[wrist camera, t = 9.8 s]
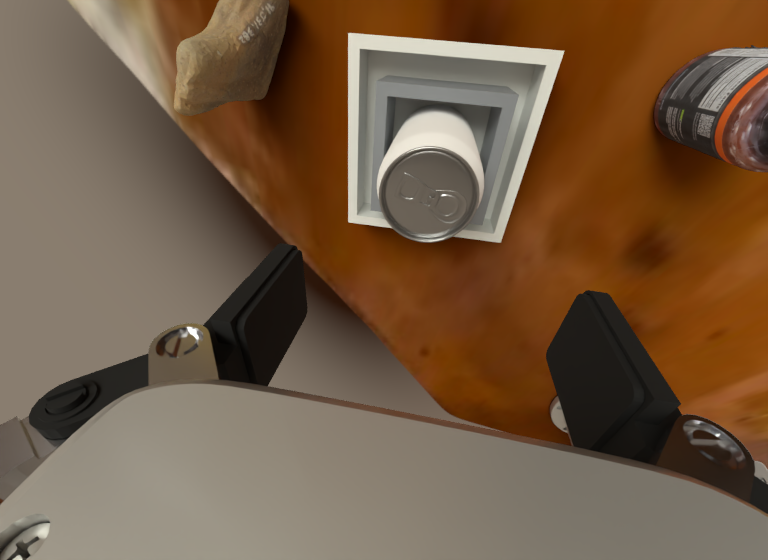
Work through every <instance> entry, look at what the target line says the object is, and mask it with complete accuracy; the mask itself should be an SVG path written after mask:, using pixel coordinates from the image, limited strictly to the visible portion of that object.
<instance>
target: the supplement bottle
mask: <svg viewBox="0 0 768 560" xmlns="http://www.w3.org/2000/svg"><path fill="white" fill-rule="evenodd" d="M654 121H655V124H656V127H657V129H658V130H659V132H660V133H661V134H663V135H664V136H665V137H667V138H669V139H671V140H673V141H676V142H678V143H680V144H683V145H686V146H688V147H691V148H693V149H696V150H698V151H700V152H703V153H705V154H708V155H711V156H713V157H715V158H718V159H720V160H723V161H725V162H728V163H730V164H733V165H736V166H738V167H740V168H743V169H746V170H750V171H755V172H768V48H766V47H764V48H757V47H754V46H753V45H751V47H750V48H748V47H745V48H737V47H735V48H727V49H719V50H715V51H711V52H708V53H706V54H703V55H701V56H699V57H697V58H695V59H693V60H691V61H690V62H688V63H687V64H686V65H684V66H683V67H682V68H681V69H679V70H678V71H677V72H676V73H675V74H674V75H673V76H672V77H671V78H670V79H669V81H668V82H667V83H666V84H665V86H664V87H663V89H662V91H661V92H660V94H659V96H658V99H657V102H656V105H655V109H654Z"/></svg>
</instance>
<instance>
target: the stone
mask: <svg viewBox="0 0 768 560" xmlns="http://www.w3.org/2000/svg"><path fill="white" fill-rule="evenodd" d="M288 7H289V0H219V2H218V4H217V6H216V9H215V11H214V14H213V16H212V18H211V20H210V22H209V24H208V26H207V28H205V30H204V31H202V32H201V33H200V34H197V35H196V36H193V37H191V38H188V39H185V40H183V41H182V42H181V43H180V45H179V46H178V48H177V53H176V63H177V70H178V73H177V77H176V84H177V85H176V91H175V100H174V109H175V110H176V111H178V112H179V113H180V114H183V115H188V116H189V115H195V114H199V113H203V112H207V111H209V110H212V109H214V108H215V107H218V106H219V105H222V104H225V103H227V102H231V101H250V100H254V99H255V100H261V99H263V98H264V97H265V96H266V94H267V91H268V88H269V84H270V82H271V79H272V76H273V72H274V69H275V65H276V62H277V58H278V54H279V50H280V47H281V44H282V41H283V37H284V34H285V29H286V20H287V13H288Z"/></svg>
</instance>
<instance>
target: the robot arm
mask: <svg viewBox="0 0 768 560" xmlns="http://www.w3.org/2000/svg"><path fill="white" fill-rule="evenodd" d="M306 314H307V300H306V289H305V278H304V269H303V257H302V252H301V251H300V250H298V249H297V247H296V246H294V245H288V244H278V245H277V246H276V247H275V248H274V249H273V250H272V252H270V254H269V255H268V256H267V257H266V258H265V259H264V260H263V261H262V262H261V263H260V265H259V266H258V267H257V268H256V269H255V270H254V271H253V272H252V273H251V275H250V276H249V277H247V278H246V279H245V280H244V281H243V282H242V284H241V285H240V286H239V287H238V288H237V289H236V290H235V291H234V292H233V293H232V294H231V296H230V297H229V298H228V299H227V300H226V301H225V302H224V303H223V304H222V305H221V307H220V308H219V309H218V310H217V311H216V312H215V313H214V314H213V315H212V316H211V317H210V319H209V320H208V321H207V322H206V323H205V324H204V325H199V324H195V323H187V324H181V325H177V326H174V327H171V328H169V329H167V330H165V331H164V332H162V333H160V334H159V335H158V336H157V337H156V338H154V340H153V341H152V343H151V344H150V347H149V352H148V354H146V355H143V356H140V357H137V358H134V359H132V360H129V361H126V362H123V363H120V364H117V365H114V366H111V367H108V368H105V369H102V370H99V371H96V372H94V373H91V374H88V375H85V376H82V377H79V378H76V379H74V380H70V381H68V382H66V383H63V384H61V385H59V386H57V387H56V388H54V389H52V390H51V391H49V392H48V393H47V394H46V395H44V396H43V397H42V398H41V399H39V400H38V402H37V403H36V404H35V405H34V407H33V408H32V410H31V412H30V414H29V416H28V417H26V418H24V419H22V420H20V419H19V418H18V417H17V416H16V417H14V418H13V419H11V420H9V421H7V422H5V423H3V424H1V425H0V560H768V484H766V483H765V482H763V481H762V480H760V479H759V478H758V477H756V476H755V475H754V474H755V463H754V460H753V458H752V456H751V454H750V452H749V451H748V450H747V449H746V447H745V446H744V445H743V444H742V443H741V442H740V441H739V440H738V439H737V438H736V437H735V436H734V435H733V434H731V433H730V432H729V431H727V430H726V429H724V428H723V427H721V426H720V425H718V424H716V423H714V422H712V421H711V420H709V419H706V418H703V417H700V416H697V415H690V414H686V415H682V414H681V412H680V411H679V409H678V408H677V407H678V406H679V405H680V404H681V403H680V402H679V400H678V399H677V397H676V396H675V394H674V393H673V391H672V390H671V388H670V387H669V385H668V384H667V382H666V380H665V379H664V377H663V376H662V374H661V373H660V371H659V370H658V368H657V367H656V365H655V364H654V362H653V361H652V359H651V358H650V356H649V355H648V353H647V351H646V350H645V348H644V347H643V345H642V344H641V342H640V341H639V339H638V338H637V336H636V335H635V333H634V332H633V330H632V329H631V327H630V326H629V324H628V322H627V321H626V319H625V318H624V316H623V315H622V313H621V312H620V310H619V309H618V307H617V306H616V304H615V303H614V301H613V300H612V298H611V296H610V295H609V294H607V293H602V292H596V291H589V290H588V291H585V292H584V293H583V294H579V295H578V296H577V297H576V299H575V300H574V302H573V304H572V306H571V308H570V310H569V311H568V313H567V315H566V317H565V319H564V320H563V322H562V324H561V326H560V328H559V330H558V331H557V333H556V335H555V337H554V339H553V341H552V342H551V344H550V346H549V348H548V350H547V354H546V359H547V363H548V366H549V369H550V372H551V376H552V379H553V382H554V385H555V389H556V392H557V395H558V396H557V397H556V398H555V399H554V400H553V402H552V403H551V406H550V415H551V418H552V421H553V423H554V424H555V425H556V426H557V427H558V428H559V429H561V430H562V431H564V432H566V433H568V435H569V438H570V441H571V444H572V446H568V445H563V444H559V443H554V442H549V441H544V440H539V439H534V438H529V437H524V436H519V435H515V434H510V433H505V432H500V431H495V430H490V429H485V428H480V427H475V426H470V425H465V424H460V423H455V422H450V421H445V420H440V419H434V418H430V417H425V416H420V415H415V414H410V413H404V412H400V411H395V410H390V409H385V408H380V407H375V406H369V405H364V404H359V403H354V402H349V401H344V400H338V399H333V398H328V397H323V396H317V395H312V394H307V393H302V392H297V391H291V390H285V389H279V388H274V387H268V384H269V382H270V381H271V379H272V377H273V375H274V373H275V372H276V370H277V368H278V366H279V364H280V362H281V361H282V359H283V357H284V355H285V354H286V352H287V350H288V348H289V346H290V344H291V343H292V341H293V339H294V337H295V335H296V334H297V332H298V330H299V328H300V326H301V325H302V323H303V321H304V319H305V317H306Z"/></svg>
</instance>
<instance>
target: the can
mask: <svg viewBox="0 0 768 560" xmlns="http://www.w3.org/2000/svg"><path fill="white" fill-rule="evenodd" d="M483 191H484V172H483V167H482V163H481V159H480V156H479V152H478V149H477V145H476V142H475V139H474V135H473V132H472V129H471V127H470V125H469V123H468V121H467V120H466V118H465V117H464V116H463V115H462V114H461V113H460V112H459V111H457V110H456V109H454V108H452V107H450V106H446V105H441V104H433V105H428V106H425V107H422V108H420V109H418V110H416V111H415V112H414V113H412V114H411V115H410V116H409V117H408V118H407V119H406V121H405V122H404V123H403V125H402V127H401V128H400V130H399V132H398V133H397V135H396V137H395V139H394V140H393V142H392V144H391V146H390V148H389V150H388V151H387V153H386V155H385V157H384V159H383V161H382V164H381V166H380V169H379V173H378V178H377V194H378V198H379V203H380V208H381V211H382V213H383V216H384V218H385V219H386V221H387V222H388V224H389V225H390V226H391V227H392V228H393V229H394V230H395V231H396V232H398V233H399V234H400V235H402V236H404V237H406V238H408V239H411V240H414V241H418V242H426V243H430V242H439V241H443V240H446V239H448V238H451V237H453V236H455V235H456V234H458V233H459V232H460V231H462V230H463V229H464V228H465V227H466V226H467V225H468V224H469V222H470V221H471V220H472V218H473V216H474V214H475V212H476V210H477V208H478V206H479V204H480V202H481V199H482V196H483Z"/></svg>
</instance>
